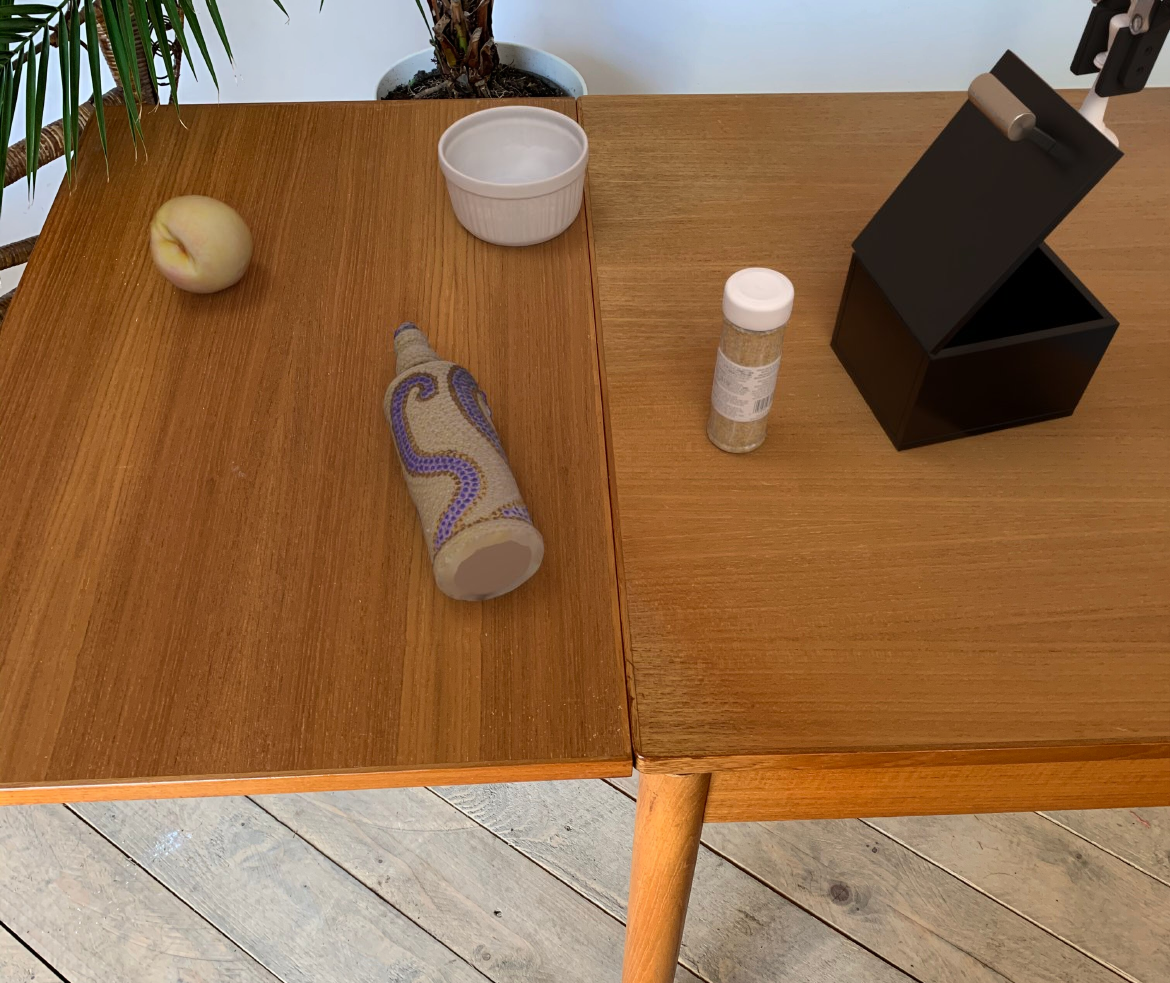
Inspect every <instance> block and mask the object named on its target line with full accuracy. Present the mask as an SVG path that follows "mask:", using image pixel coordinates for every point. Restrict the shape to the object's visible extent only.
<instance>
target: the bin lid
mask: <svg viewBox="0 0 1170 983" xmlns="http://www.w3.org/2000/svg"><path fill="white" fill-rule="evenodd" d="M1124 156H1125V152H1124V151H1122V149H1120V148H1119V146H1118V147H1117V146H1116V145H1115V144H1114V143H1113V142H1111V141H1110V140H1109V139H1108V138H1107V137H1106V136H1105V135H1104V134H1103V133H1102V132H1100V131H1099V130H1098V129H1097V128H1096V127H1095V126H1094V125H1093V124H1092V123H1091V122H1089V121H1088V120H1087V119H1086V118H1085V117H1084V116H1083V115H1082V114H1081V113H1080V112H1079V110H1077V109H1076V108H1075V106H1073V105H1072V104H1071V103H1070V102H1068V101H1067V99H1065V98H1064V97H1063V96H1062V95H1061V94H1060V92H1058V91H1057V90H1055V88H1053V87H1052V86H1051V85H1050V84H1049V83H1048V82H1047V81H1046V80H1045V79H1044V78H1042V77H1041V75H1039V74H1038V73H1037V72H1036V71H1035V70H1034V69H1033V68H1031V66H1029V65H1028V64H1027V63H1026V62H1025V61H1024V60H1023V59H1022V58H1020V57H1019V56H1018V55H1017V54H1016V53H1015V52H1014V51H1012V50H1011V49H1009V48H1008V49H1006V51H1005V52H1004V53H1003V54H1002V56H1001V57H1000V58H999V60H997V62H996V63H995V65H993V67H992V68H991V69H990V70H989V72H984V73H981V74H979V75H977V76H976V77H975V78H974V79H973V80H972V81H971V82H970V84H969V86H968V88H967V99H966V100H965V102H963V104H962V105H961V107H960V108H959V109H958V110H957V112H956V113H955V114H954V115H953V116H952V117H951V119H950V120H949V122H948V123H947V124H946V125H945V127H944V128H943V129H942V130H941V132H940V133H939V134H938V135H937V136H936V138H935V139H934V140H933V142H932V143H931V144H930V145H929V147H928V148H927V149H926V150H925V152H923V154H922V155H921V157H919V159H918V160H917V162H916V163H915V164H914V165H913V166H912V168H911V169H910V170H909V172H908V173H907V174H906V175H905V176H904V177H903V179H902V180H901V181H900V183H899V184H898V185H897V186H896V188H895V189H894V190H893V191H892V192H891V194H890V195H889V196H888V197H887V199H886V200H885V201H884V202H883V204H881V206H880V208H879V209H878V210H877V211H876V212H875V213H874V215H873V216H872V217H871V219H870V220H869V221H868V222H867V224H866V225H865V226H864V228H863V229H862V230H861V231H860V233H859V234H858V235H857V236H856V238H855V239H854V240H853V241H852V242H851V244H850V247H851V248H852V249H853V250H854V251H853V252H856V253H857V255H858V256H859V257H860V259H861V260H862V262H863V263H864V264H865V266H866V267H867V268H868V270H869V271H870V273H871V274H872V275H873V277H874V278H875V280H876V281H877V282H878V284H879V285H880V286H881V288H882V289H883V291H884V292H885V293H886V295H887V296H888V298H889V299H890V300H891V302H892V303H893V304H894V306H895V307H896V309H897V310H898V311H899V313H900V314H901V316H902V317H903V318H904V320H905V321H906V322H907V324H908V325H909V327H910V328H911V329H912V331H913V332H914V333H915V335H916V336H917V338H918V339H919V340H920V342H921V343H922V345H923V346H924V347H925V349H926V350H927V351H928V353H930V354H933V355H935V356H936V355H937V354H938V353H939V352H940V351H941V350H942V348H943V347H944V346H945V345H946V344H947V343H948V342H949V341H950V340H951V339H952V338H953V337H954V336H955V335H956V334H957V332H958V331H959V330H960V329H961V328H962V327H963V326H964V325H965V324H966V323H967V322H968V321H969V320H970V319H971V318H972V316H973V315H974V314H975V313H976V312H977V311H978V310H979V309H980V308H981V307H982V306H983V305H984V304H985V303H986V302H987V301H988V299H989V298H990V297H991V296H992V295H993V294H994V293H995V292H996V291H997V290H998V289H999V288H1000V287H1001V286H1002V285H1003V283H1004V282H1005V281H1006V280H1007V279H1008V278H1009V277H1010V276H1011V275H1012V274H1013V273H1014V272H1015V271H1016V270H1017V269H1018V267H1019V266H1020V265H1021V264H1022V263H1023V262H1024V261H1025V260H1026V259H1027V258H1028V257H1029V256H1030V255H1031V254H1032V253H1033V252H1034V250H1035V249H1036V248H1037V247H1038V246H1039V245H1040V244H1041V243H1042V242H1043V241H1045V240H1046V239H1047V238H1048V237H1049V236H1050V235H1051V234H1052V232H1054V230H1056V228H1057V227H1058V226H1059V225H1060V224H1061V223H1062V222H1063V221H1064V220H1065V219H1066V217H1067V216H1068V215H1070V213H1071V212H1072V211H1073V210H1074V209H1075V208H1076V207H1077V206H1078V205H1079V204H1080V203H1081V201H1082V200H1084V198H1085V197H1086V196H1087V195H1088V194H1089V193H1091V191H1092V190H1093V189H1094V188H1095V187H1096V186H1097V185H1098V184H1099V182H1100V181H1101V180H1102V179H1103V178H1104V177H1105V176H1107V174H1108V173H1109V172H1110V171H1111V170H1112V169H1113V168H1114V166H1116V165H1117V163H1118V162H1119V161H1120V160H1121V159H1122V158H1123V157H1124Z"/></svg>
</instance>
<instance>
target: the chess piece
mask: <svg viewBox="0 0 1170 983" xmlns="http://www.w3.org/2000/svg"><path fill="white" fill-rule="evenodd" d="M1137 1H1138V0H1131V6H1130V8H1129V11H1128V13H1127V14H1118V15H1116V16H1114V17H1113V18H1112V19H1111V21H1110V27H1109V40H1108V51H1107V52H1102V53H1099V54H1098V55H1097V56H1096V57H1095V59H1094V64H1095V65H1096V66H1097V67H1098V68H1100V69H1101V70H1100V72H1099V73H1097V75H1096V77H1095V80H1094V81H1093V84H1092V85H1091V88H1090V89H1089V91H1088V93H1087V95H1086V97H1085V98H1084V100H1083V103H1082V104H1081V105H1080V108H1079V109H1078V111H1079V112H1080V113H1081V114H1082V115H1083V116H1084V117H1085V118H1086V119H1087V120H1088V121H1089V122H1091V123H1092V124H1093V125H1094V126H1095V127H1096V128H1097V129H1098V130H1099V131H1100V132H1102V133H1103V134H1104V135H1105V136H1106V137H1107V138H1108V139H1109V140H1110V141H1111V142H1113V143H1114V144H1115V145H1116V146H1117V147H1118V148H1119V146H1120V145H1119V139H1118V137H1117V136H1116V134H1115V133H1114V132H1113V131H1112V130H1111V129H1110V128H1108V127H1107V126H1106V124H1105V122H1104V121H1103V120H1104V117H1105V112H1106V110H1107V109H1106V108H1107V105H1108V102H1109V99H1110V97H1104V98H1101V97H1099V96H1098V95H1097V94H1096V93H1095V86H1096V83H1097V81H1098V78H1099V76H1100V73H1101V71H1102V68H1103V66H1104V63H1105V61H1106V58H1107V56H1108V53H1109V51H1110V48H1111V46H1112V43H1113V41H1114V38H1115V36H1116V33H1117V32H1118V30H1119V28H1121V27H1128V26H1129V22H1130V19H1131V16H1132V14H1133V11H1134V9H1135V6H1136V4H1137Z"/></svg>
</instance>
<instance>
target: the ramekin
mask: <svg viewBox="0 0 1170 983" xmlns="http://www.w3.org/2000/svg"><path fill="white" fill-rule="evenodd" d="M589 151H590V148H589V139H588V135H587V134H586V132H585V130H584V129H583V128H582V126H581V125H580V124H579V123H578V122H577V121H575V120H574V119H573V118H571V117H569V116H568V115H566V114H563V113H561V112H559V111H556V110H552V109H549V108H545V107H540V106H539V107H538V106H531V105H505V106H497V107H491V108H486V109H482V110H479V111H476V112H473V113H470V114H468V115H466V116H464V117H462V118H460V119H458V120H456V121H455V122H454V123H452V124H451V125H450V126H449V127H448V128H446V129H445V131H444V132H443V133H442V134H441V136H440V138H439V141H438V145H437V157H438V165H439V168H440V170H441V172H442V174H443V175H444V178H445V182H446V187H447V190H448V194H449V198H450V202H451V206H452V209H453V212H454V214H455V216H456V218H457V220H458V221H459V223H460V224H461V226H462V227H464V228H465V229H466V230H467V231H468V232H469V233H470V234H472V235H473V236H474V237H476V238H477V239H479V240H482V241H484V242H486V243H489V244H493V245H497V246H503V247H527V246H533V245H538V244H542V243H545V242H547V241H550V240H552V239H554V238H556V237H558V236H560V235H561V234H563V233H564V232H565V231H566V230H567V229H568V228H569V227H570V226H571V224H573V222H574V221H575V220H576V218H577V216H578V214H579V212H580V210H581V206H582V199H583V193H584V186H585V178H586V177H585V175H586V168H587V166H588V162H589V157H590V152H589Z"/></svg>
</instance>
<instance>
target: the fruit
mask: <svg viewBox="0 0 1170 983" xmlns="http://www.w3.org/2000/svg"><path fill="white" fill-rule="evenodd" d="M155 213H156V214H155V215H154V217H153V219H152V221H151V224H150V229H149V253H150V256H151V260H152V263H153V265H154V267H155V268H156V270H157V271H158V272H159V273H160V275H162V277H163V278H164V279H165V280H166V281H167V282H169V283H170V284H171V285H173V286H175V287H176V288H177V289H180V290H183V291H186V292H189V293H193V294H214V293H217V292H221V291H223V290H225V289H228V288H230V287H233V286H234V285H236V284H237V283H238V282H239V281H241V279H242V278H243V277H244V275H245V273H246V272H247V270H248V268H249V266H250V263H251V261H252V260H251V259H252V256H253V252H254V240H253V236H252V233H251V230H250V228H249V226H248V224H247V223H246V221H245V219H244V218H243V216H241V215H240V213H239V212H238V211H237V210H235V209H234V208H233V207H231V206H230V205H228V204H227V203H225V202H223V201H221V200H219V199H217V198H214V197H210V196H205V195H201V194H188V195H181V196H175V197H173V198H170V199H169V200H167V201H165V202H164V203H163V204H161V205H160V207H159V208H158V210H157V211H156V212H155Z"/></svg>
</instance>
